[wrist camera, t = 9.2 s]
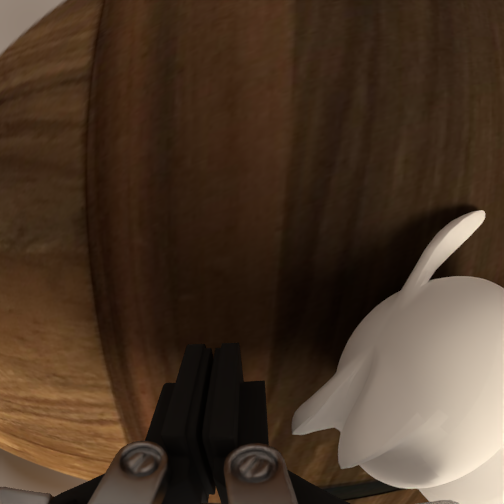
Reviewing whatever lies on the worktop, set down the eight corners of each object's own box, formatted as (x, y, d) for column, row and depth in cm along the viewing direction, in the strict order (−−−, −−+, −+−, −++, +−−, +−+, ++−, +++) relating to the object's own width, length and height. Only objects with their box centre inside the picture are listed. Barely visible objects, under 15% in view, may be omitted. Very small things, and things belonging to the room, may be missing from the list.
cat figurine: (407, 580, 2) (549, 532, 4) (527, 101, 5) (613, 307, 7) (240, 426, 10) (424, 489, 12) (363, 198, 14) (492, 323, 15)
